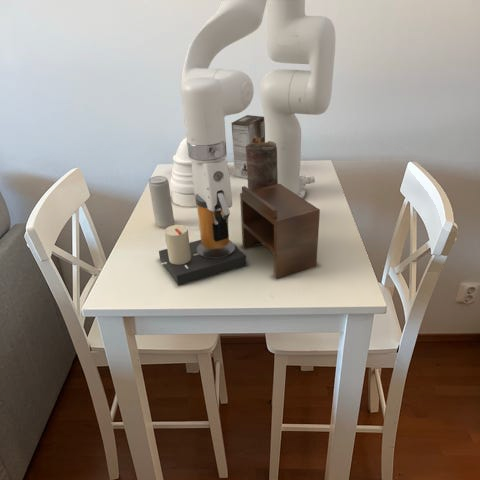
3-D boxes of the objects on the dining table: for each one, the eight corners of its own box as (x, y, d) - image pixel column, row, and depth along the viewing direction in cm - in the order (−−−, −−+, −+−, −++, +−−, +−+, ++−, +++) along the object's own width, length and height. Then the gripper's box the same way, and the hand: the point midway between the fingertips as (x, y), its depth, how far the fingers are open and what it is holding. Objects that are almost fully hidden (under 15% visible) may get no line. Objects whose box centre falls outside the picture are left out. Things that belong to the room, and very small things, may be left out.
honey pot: (225, 198, 132) (220, 132, 121) (184, 210, 127) (176, 143, 116) (203, 184, 141) (197, 122, 130) (164, 195, 135) (155, 131, 124)
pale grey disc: (225, 236, 109) (225, 235, 108) (241, 252, 102) (241, 251, 102) (191, 246, 106) (190, 244, 106) (205, 262, 100) (205, 261, 99)
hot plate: (223, 242, 111) (223, 232, 110) (246, 265, 103) (246, 255, 101) (153, 262, 106) (152, 252, 104) (171, 288, 97) (169, 277, 96)
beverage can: (171, 229, 119) (164, 183, 111) (153, 228, 119) (145, 182, 112) (176, 220, 122) (170, 175, 115) (159, 219, 123) (152, 175, 116)
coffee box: (249, 166, 151) (247, 114, 141) (266, 169, 148) (265, 116, 138) (233, 176, 145) (230, 122, 135) (251, 179, 142) (249, 124, 132)
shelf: (279, 236, 113) (279, 175, 103) (316, 266, 101) (320, 200, 92) (242, 246, 110) (239, 185, 100) (276, 278, 98) (276, 212, 89)
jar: (222, 232, 106) (219, 186, 100) (235, 244, 102) (232, 197, 95) (195, 239, 104) (190, 193, 98) (207, 252, 100) (202, 204, 93)
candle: (244, 228, 117) (241, 147, 105) (254, 215, 122) (251, 137, 110) (274, 231, 115) (273, 149, 102) (282, 218, 120) (283, 139, 108)
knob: (165, 257, 102) (160, 227, 98) (186, 251, 104) (181, 221, 99) (174, 267, 99) (169, 236, 94) (194, 260, 101) (191, 230, 96)
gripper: (244, 158, 86) (247, 245, 97) (207, 135, 98) (214, 214, 109) (206, 166, 83) (214, 254, 94) (173, 141, 96) (184, 221, 107)
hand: (214, 232), depth 102 cm, fingers closed on jar, 6 cm apart
